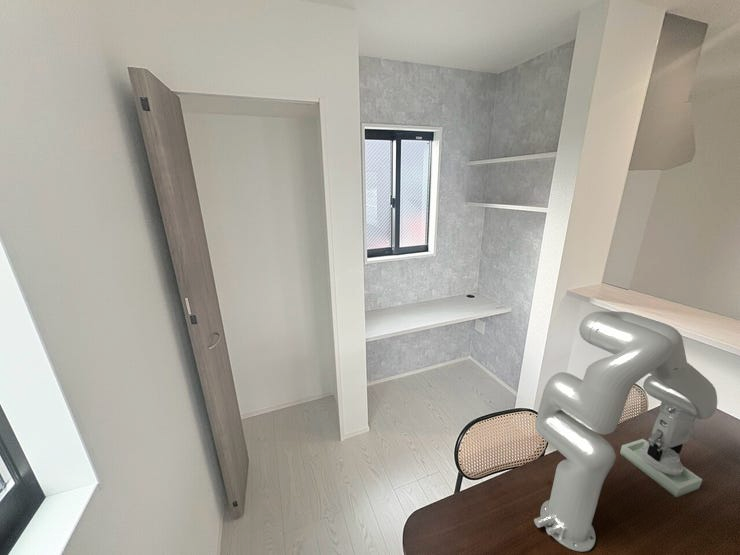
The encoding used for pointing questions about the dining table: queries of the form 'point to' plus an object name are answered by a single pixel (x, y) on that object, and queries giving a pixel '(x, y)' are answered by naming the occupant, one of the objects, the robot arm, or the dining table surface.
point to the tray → (670, 482)
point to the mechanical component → (664, 460)
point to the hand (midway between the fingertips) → (663, 453)
